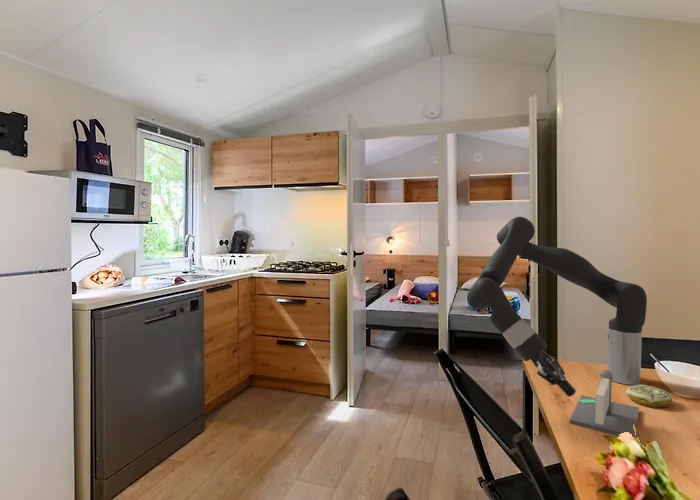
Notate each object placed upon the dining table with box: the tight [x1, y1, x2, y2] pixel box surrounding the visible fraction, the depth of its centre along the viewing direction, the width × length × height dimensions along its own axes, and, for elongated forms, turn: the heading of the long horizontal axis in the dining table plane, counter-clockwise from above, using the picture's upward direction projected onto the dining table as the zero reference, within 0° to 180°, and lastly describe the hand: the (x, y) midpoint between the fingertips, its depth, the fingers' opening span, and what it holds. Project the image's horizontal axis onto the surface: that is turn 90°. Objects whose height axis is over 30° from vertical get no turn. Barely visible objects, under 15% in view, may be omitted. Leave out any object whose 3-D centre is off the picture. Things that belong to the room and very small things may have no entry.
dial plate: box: [569, 394, 640, 437], centre depth 107 cm, size 20×14×1 cm
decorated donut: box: [625, 384, 673, 409], centre depth 117 cm, size 10×11×4 cm
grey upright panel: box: [595, 369, 613, 425], centre depth 104 cm, size 24×3×12 cm, turn 142°
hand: (572, 394), depth 103 cm, fingers closed
